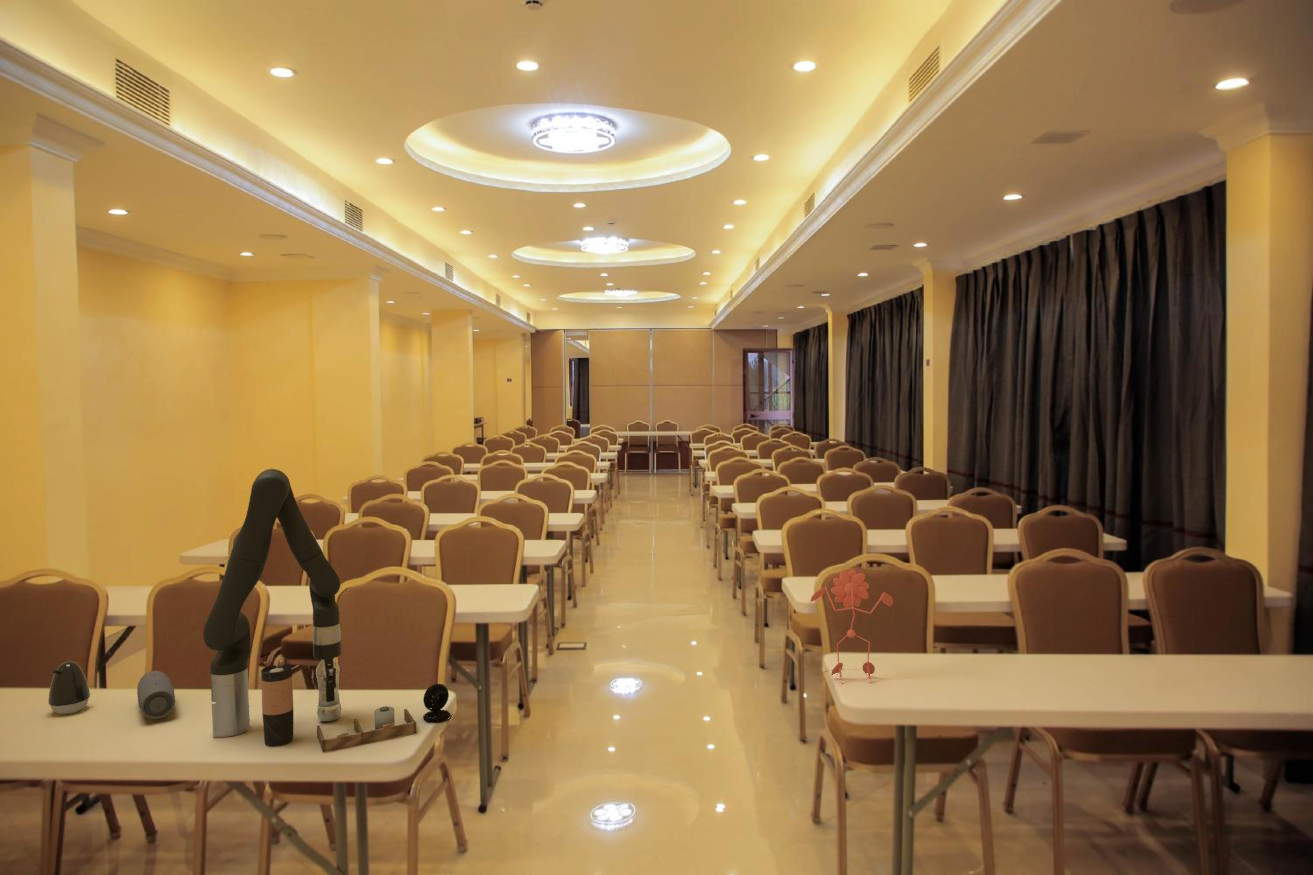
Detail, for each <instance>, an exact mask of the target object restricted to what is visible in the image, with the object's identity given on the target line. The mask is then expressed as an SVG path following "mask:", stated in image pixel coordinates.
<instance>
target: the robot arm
mask: <svg viewBox="0 0 1313 875" xmlns="http://www.w3.org/2000/svg"><path fill="white" fill-rule="evenodd" d="M277 520H278V522H279V524H280V527H281V529H282V532H283V535H284V538H285V540H286V543H287V544H288V547H289V549H290V552H291V553H292V554H293V557H294V559H295V560H296V562H297V563H298V565H299V567H300V568H301V569H302V570H303V571H304V572H305V573H306V575H307V577H308V578H309V584H308V585H309V586H308V587H309V595H310V601H311V606H312V656H313V658H314V659H315V660H319V663H320V662H321V659H323V660H324V664H325V671H326V678H325V677H324V676H323V681H325V688H326V701H327V702H332V701H334V700H335V694H334V688H336V669H335V668H334V664H333V659H334V660H335V658H338V657H340V656H341V655H342V636H341V635H342V633H341V630H342V629H341V627H340V626H341V624H340V609H339V605H338V604H337V601H336V595H337V594H338V592H339V591H340V588H341V580H340V577H339V575H338V574H337V572H336V571H335V569H334V568H333V566H332V565H331V563H330V562H329V560H328V559H327V558H326V556H325V554H324V552H323V550H322V548H321V546H320V544H319V542H318V541H317V539H316V537H315V536H314V534H313V532H312V530H311V529H310V527H309V525H308V522H307V521H306V520H305V518H304V516H303V514H302V511H301V509H300V507H299V505H298V503H297V500H296V498H295V494H294V491H293V489H292V486H291V482H290V479H289V478H288V476H287V475H286V474H285V473H284V472H283V471H281V470H279V469H276V468H267V469H265V470H263V471H261V472H260V473H259V474H258V475H257V476H256V478H255V480H254V481H253V483H252V485H251V490H250V496H249V501H248V507H247V511H246V516H245V518H244V521H243V523H242V526H241V527H240V530H239V532H238V534H237V536H236V539H235V541H234V543H233V546H232V548H231V552H230V555H229V557H228V561H227V565H226V568H225V572H224V574H223V577H222V581H221V583H220V587H219V591H218V593H217V597H216V599H215V601H214V603H213V606H212V608H211V611H210V612H209V614H208V617H207V619H206V622H205V624H204V627H203V630H202V638H203V642H204V645H206V647H207V648H209V649H210V650H212V651H216V654H215V656H214V658H213V659H212V660H211V663H210V666H209V671H210V688H211V689H210V693H211V698H210V700H211V719H212V721H211V722H212V724H211V725H212V737H213V738H226V737H227V738H228V737H233V736H234V737H235V736H238V735H241V734H243V733H246V732H248V731H249V730H250V728H251V724H250V721H251V719H250V702H249V701H250V698H249V675H248V674H249V672H248V671H249V670H248V664H249V663H248V661H249V659H250V655H251V626H250V621H249V619H248V617H247V616H246V614H245V613H243V612H242V611H241V610H242V608H243V607H244V604H245V602H246V600H247V599H248V597H249V595H250V594H251V593H252V591H253V590H254V588H255V587H256V585H257V584H258V582H259V580H260V579H261V577H262V574H263V573H264V571H265V567H266V563H267V561H268V558H269V553H270V550H271V543H272V537H273V536H272V535H273V529H274V525H275V524H276V523H275V522H276V521H277ZM335 666H336V663H335ZM329 681H332V682H333V684H328V682H329Z"/></svg>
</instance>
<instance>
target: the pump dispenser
mask: <svg viewBox="0 0 1313 875" xmlns="http://www.w3.org/2000/svg"><path fill="white" fill-rule="evenodd" d="M51 672H52V673H53V677H52V678H51V682H50V687H49V691H48V702H47V703H48V705H49V706H50V708H51V710H52V711H53V712H54V713H56V714H57V715H65V716H66V715H71V714H75V713H78V712H80V711H82V710H83V709H85V707H86V706H87V704H88V702H89V698H90V697H91V692H90V686H89V682H88V680H87V677H86V674H85V672H84V671H83V669H82V668H81V666H80V665H79V664H78V663H77V662H76V661H71V660H69V661H64V662H62V663H60V664H59V666H58V667H57V668H56V669H52V671H51Z"/></svg>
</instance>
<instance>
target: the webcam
mask: <svg viewBox="0 0 1313 875" xmlns="http://www.w3.org/2000/svg"><path fill="white" fill-rule="evenodd" d="M449 695H450V694H449V690H448V687H447V686H445V685H444V684H443V683H434V684H432V685H430V686H429V687H427V689H426V690H425V692H424V695H423V699H422V701H423V705H424V707H425V708H426V709H427V710H428V711H427V712H426V713H424V714H423V717H422V719H423V721H424V722H426V723H429V724H431V723H432V724H433V723H435V724H436V723H442V722H446V721H447V720H449V718H450V717H451V713H450V711H448V710H447V709H443V708H444V707H445V706H446V705H447V703H448V700H449ZM432 716H434V717H432Z"/></svg>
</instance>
